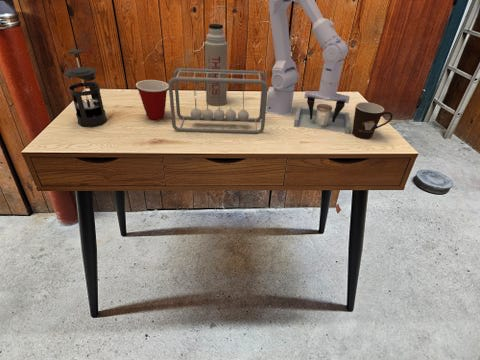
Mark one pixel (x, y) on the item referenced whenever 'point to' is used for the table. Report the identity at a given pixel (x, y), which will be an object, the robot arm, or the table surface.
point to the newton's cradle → (219, 113)
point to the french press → (87, 105)
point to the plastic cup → (153, 98)
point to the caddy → (339, 126)
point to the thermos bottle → (216, 63)
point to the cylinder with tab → (323, 114)
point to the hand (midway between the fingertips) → (322, 119)
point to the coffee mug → (367, 119)
